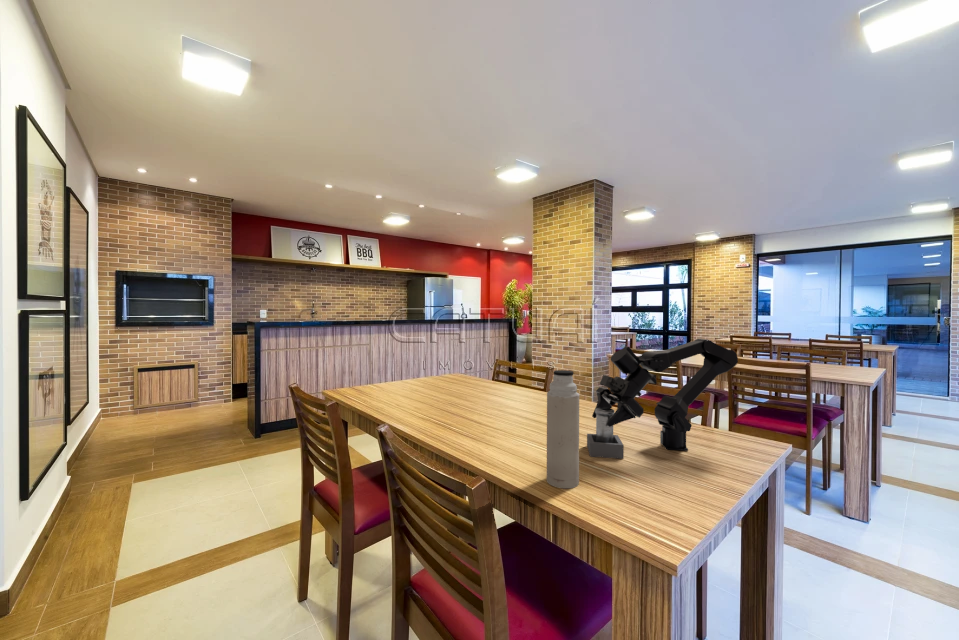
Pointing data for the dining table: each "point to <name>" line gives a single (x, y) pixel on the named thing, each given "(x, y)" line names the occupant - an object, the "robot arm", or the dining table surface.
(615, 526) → the dining table surface
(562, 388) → the thermos bottle
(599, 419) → the pipe
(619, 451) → the gray square tray
